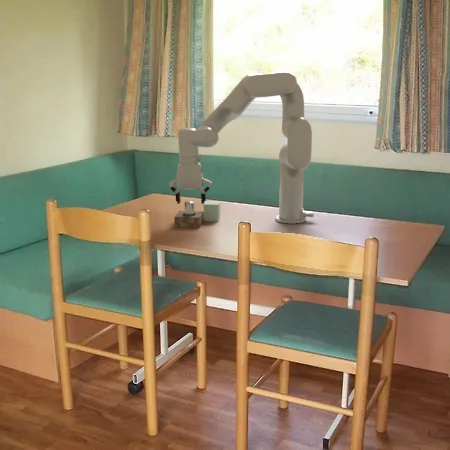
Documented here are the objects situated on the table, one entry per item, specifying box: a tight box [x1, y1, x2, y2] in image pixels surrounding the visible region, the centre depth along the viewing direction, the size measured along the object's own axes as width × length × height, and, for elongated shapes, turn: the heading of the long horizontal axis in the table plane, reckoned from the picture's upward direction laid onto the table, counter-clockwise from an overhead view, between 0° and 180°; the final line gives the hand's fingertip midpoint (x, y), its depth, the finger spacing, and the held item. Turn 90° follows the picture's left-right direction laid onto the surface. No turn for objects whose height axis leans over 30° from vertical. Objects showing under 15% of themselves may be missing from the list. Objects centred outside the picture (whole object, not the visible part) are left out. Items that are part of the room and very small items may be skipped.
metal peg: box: [184, 200, 195, 216], centre depth 252 cm, size 4×4×9 cm
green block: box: [203, 200, 221, 222], centre depth 260 cm, size 6×6×7 cm
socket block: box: [174, 210, 205, 229], centre depth 253 cm, size 10×10×4 cm
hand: (190, 203), depth 252 cm, fingers open, 9 cm apart
